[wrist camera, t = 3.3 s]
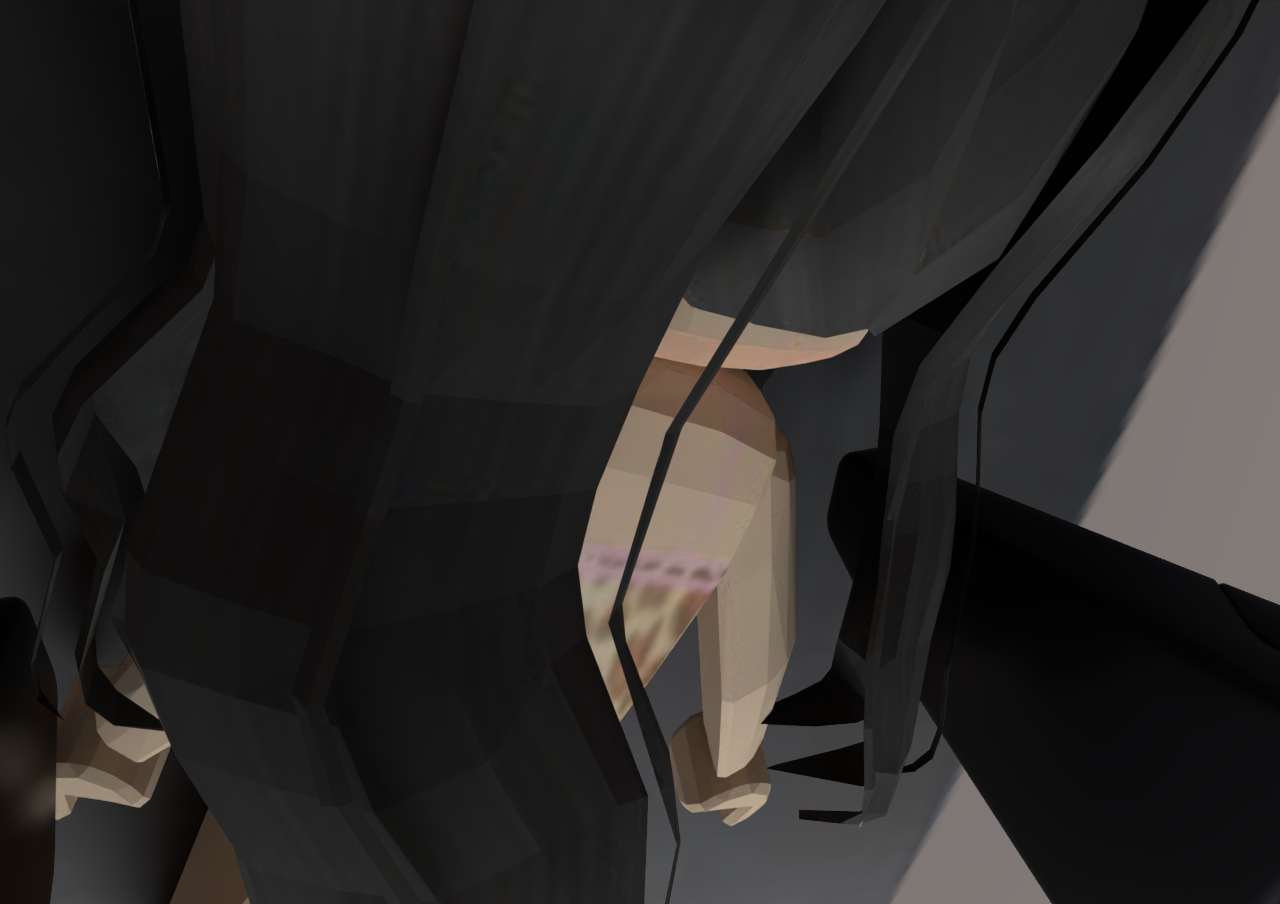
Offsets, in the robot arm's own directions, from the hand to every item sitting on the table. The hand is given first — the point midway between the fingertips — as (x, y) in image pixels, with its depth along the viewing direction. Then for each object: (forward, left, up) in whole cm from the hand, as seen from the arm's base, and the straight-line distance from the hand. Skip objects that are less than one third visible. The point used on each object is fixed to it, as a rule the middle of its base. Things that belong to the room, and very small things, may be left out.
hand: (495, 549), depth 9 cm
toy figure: (0, 0, -1) cm, 1 cm away
